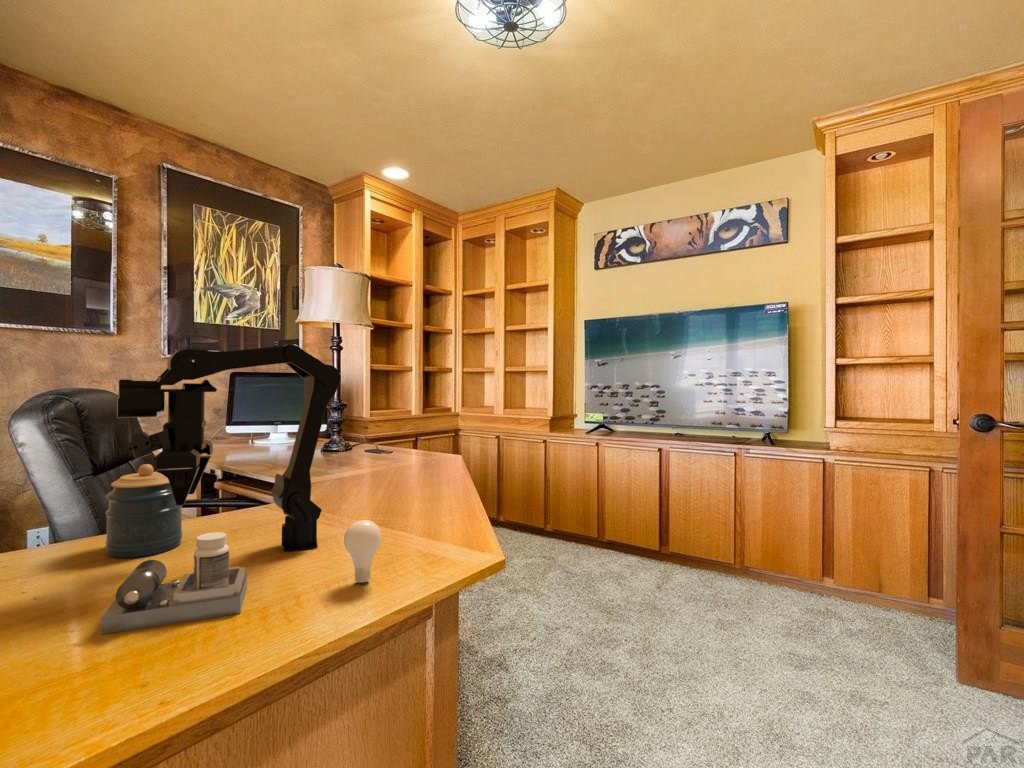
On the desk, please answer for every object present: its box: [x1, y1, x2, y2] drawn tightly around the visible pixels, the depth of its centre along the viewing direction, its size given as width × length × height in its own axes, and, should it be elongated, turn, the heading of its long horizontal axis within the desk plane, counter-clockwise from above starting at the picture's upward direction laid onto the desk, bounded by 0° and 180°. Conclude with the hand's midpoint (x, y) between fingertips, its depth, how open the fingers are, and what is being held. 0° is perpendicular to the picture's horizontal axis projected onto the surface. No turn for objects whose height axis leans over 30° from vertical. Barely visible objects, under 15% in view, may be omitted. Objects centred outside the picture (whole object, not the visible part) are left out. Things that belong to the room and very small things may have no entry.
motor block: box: [100, 559, 248, 636], centre depth 76 cm, size 17×11×7 cm, turn 113°
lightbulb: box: [343, 519, 382, 584], centre depth 87 cm, size 6×6×11 cm
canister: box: [104, 463, 184, 559], centre depth 103 cm, size 13×13×18 cm
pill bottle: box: [193, 531, 230, 590], centre depth 78 cm, size 5×5×8 cm
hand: (185, 499), depth 92 cm, fingers open, 9 cm apart
